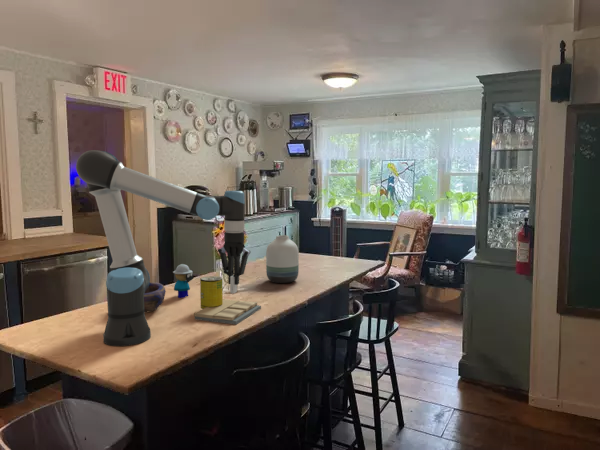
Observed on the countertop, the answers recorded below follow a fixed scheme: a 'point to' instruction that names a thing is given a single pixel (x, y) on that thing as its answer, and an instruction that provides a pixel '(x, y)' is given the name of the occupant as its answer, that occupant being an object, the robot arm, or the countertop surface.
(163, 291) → the bowl
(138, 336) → the robot arm
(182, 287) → the toy
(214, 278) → the beverage can
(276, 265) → the vase
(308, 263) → the countertop surface
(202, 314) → the underlay
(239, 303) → the plank far
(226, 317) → the tan flat block
